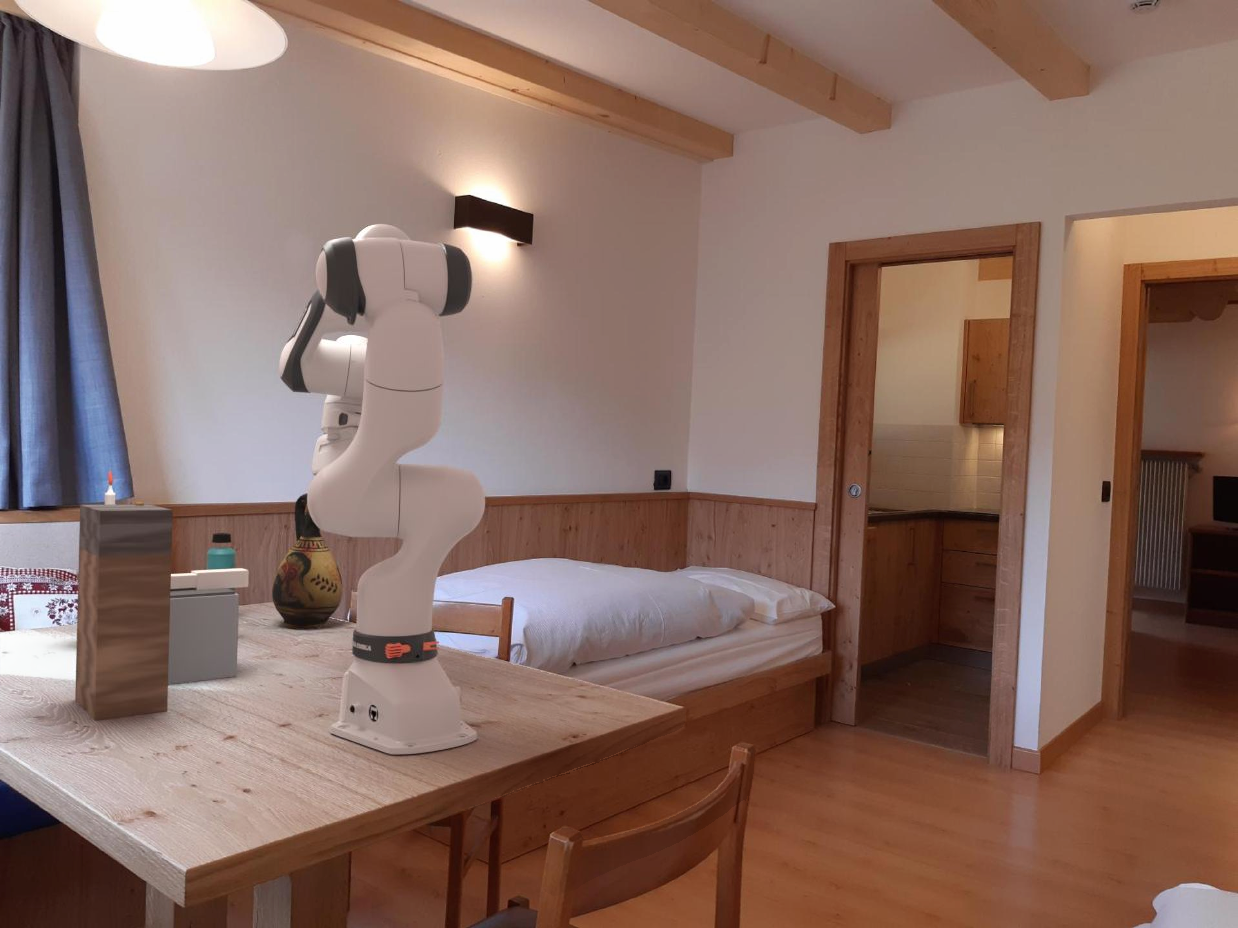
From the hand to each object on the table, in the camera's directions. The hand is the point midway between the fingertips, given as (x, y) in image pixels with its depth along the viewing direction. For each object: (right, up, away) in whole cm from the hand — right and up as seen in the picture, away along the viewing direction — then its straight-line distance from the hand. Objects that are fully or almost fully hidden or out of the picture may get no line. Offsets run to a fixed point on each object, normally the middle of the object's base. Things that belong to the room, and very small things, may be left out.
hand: (338, 497), depth 182 cm
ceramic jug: (-20, -31, +44) cm, 57 cm away
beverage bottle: (-41, -30, +48) cm, 70 cm away
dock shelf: (-27, -31, -6) cm, 41 cm away
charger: (-24, -16, -5) cm, 29 cm away
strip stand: (-26, -31, -28) cm, 49 cm away
